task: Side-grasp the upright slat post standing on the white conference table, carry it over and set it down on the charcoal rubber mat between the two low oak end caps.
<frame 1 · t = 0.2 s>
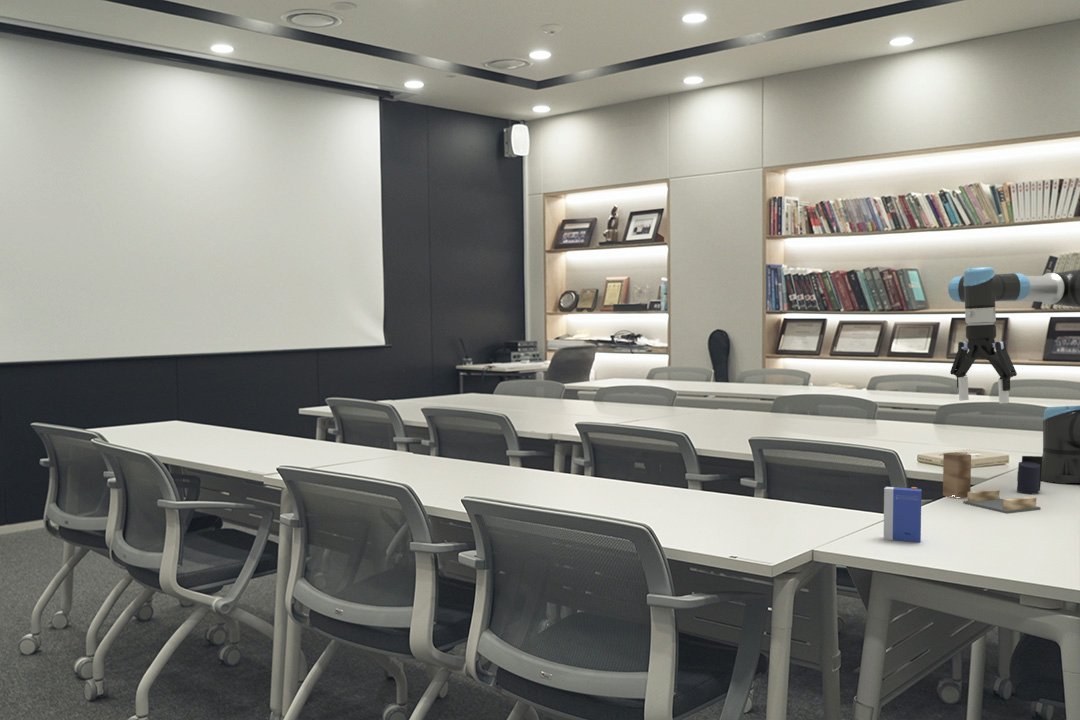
hand: (983, 401, 252), 27 cm above the table, tool pointing down, fingers open, 13 cm apart
slat post: (956, 496, 260), on the table
speaker: (1030, 493, 265), on the table
end caps: (1001, 499, 246), on the mat, point 1 cm above the table
walkman: (902, 540, 210), on the table
mat: (1001, 506, 246), on the table
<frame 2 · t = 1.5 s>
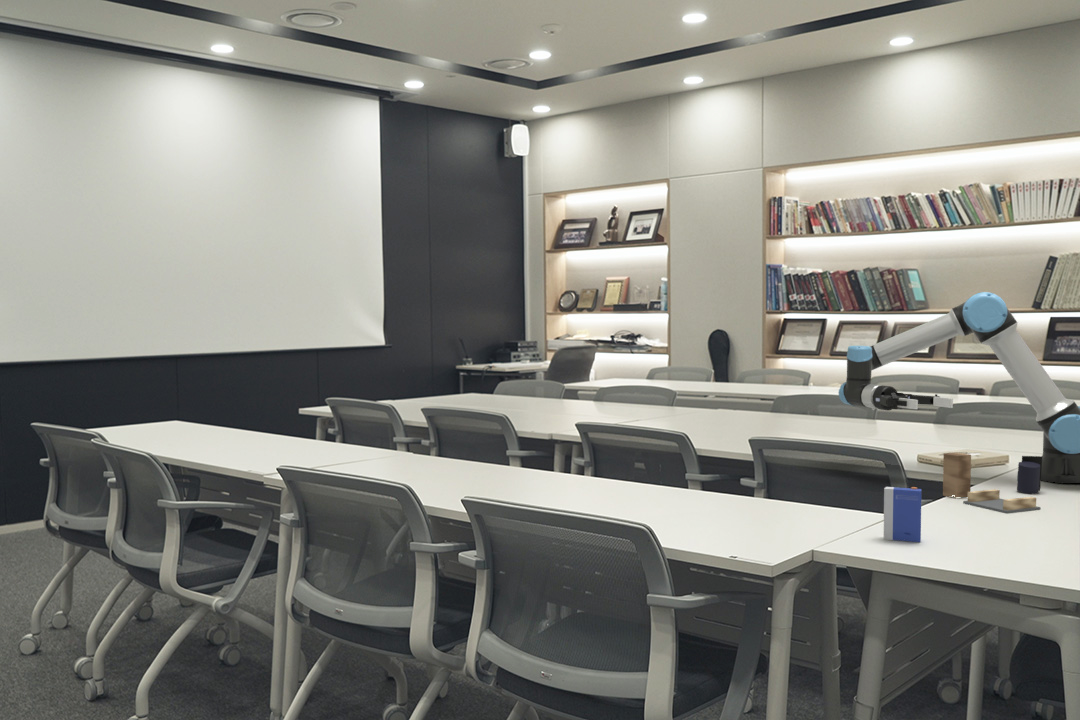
hand: (934, 404, 266), 25 cm above the table, tool horizontal, fingers open, 13 cm apart
nothing on the table moved.
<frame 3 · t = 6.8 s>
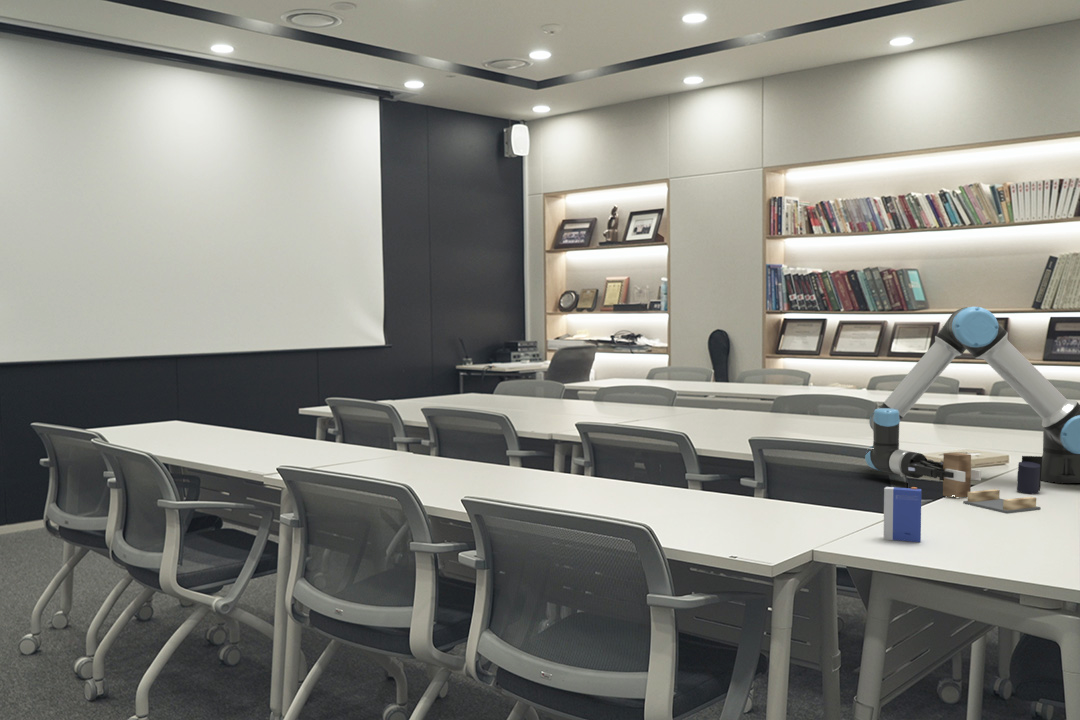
hand: (972, 476, 255), 7 cm above the table, tool horizontal, fingers closed on slat post, 5 cm apart
slat post: (956, 496, 260), on the table, touching gripper
everything else where it was.
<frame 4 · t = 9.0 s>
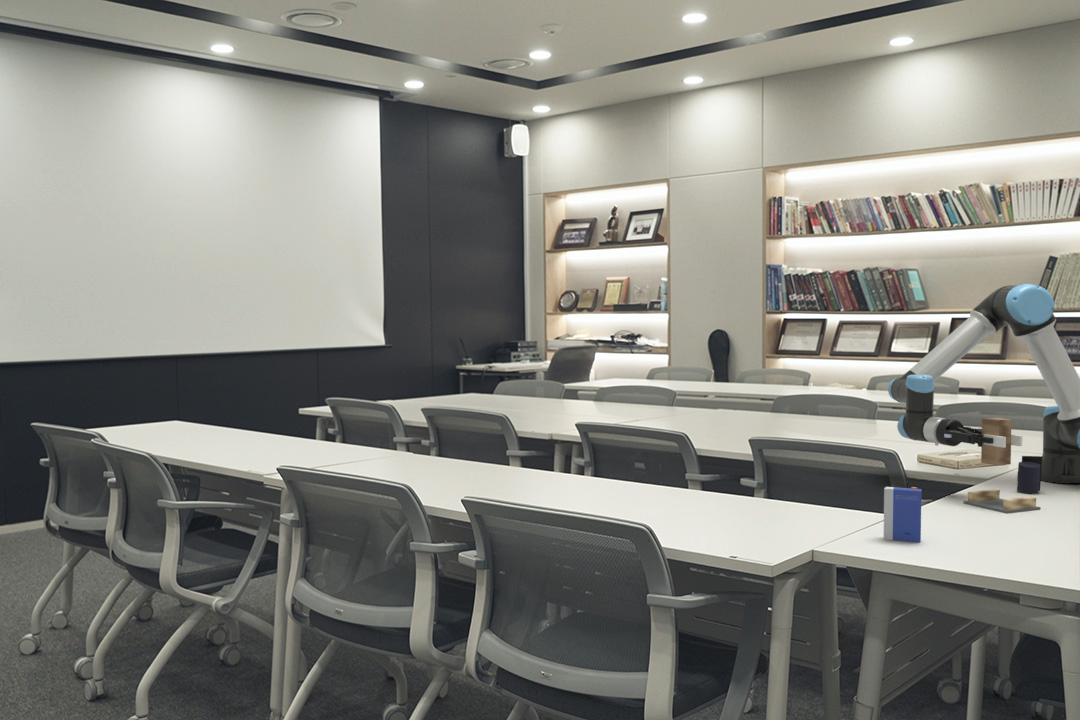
hand: (1012, 441, 241), 18 cm above the table, tool horizontal, fingers closed on slat post, 5 cm apart
slat post: (995, 463, 246), point 11 cm above the table, touching gripper
everything else where it was.
when the fingers open (9 cm above the table, at t = 11.2 s): slat post drops 1 cm, resting on mat.
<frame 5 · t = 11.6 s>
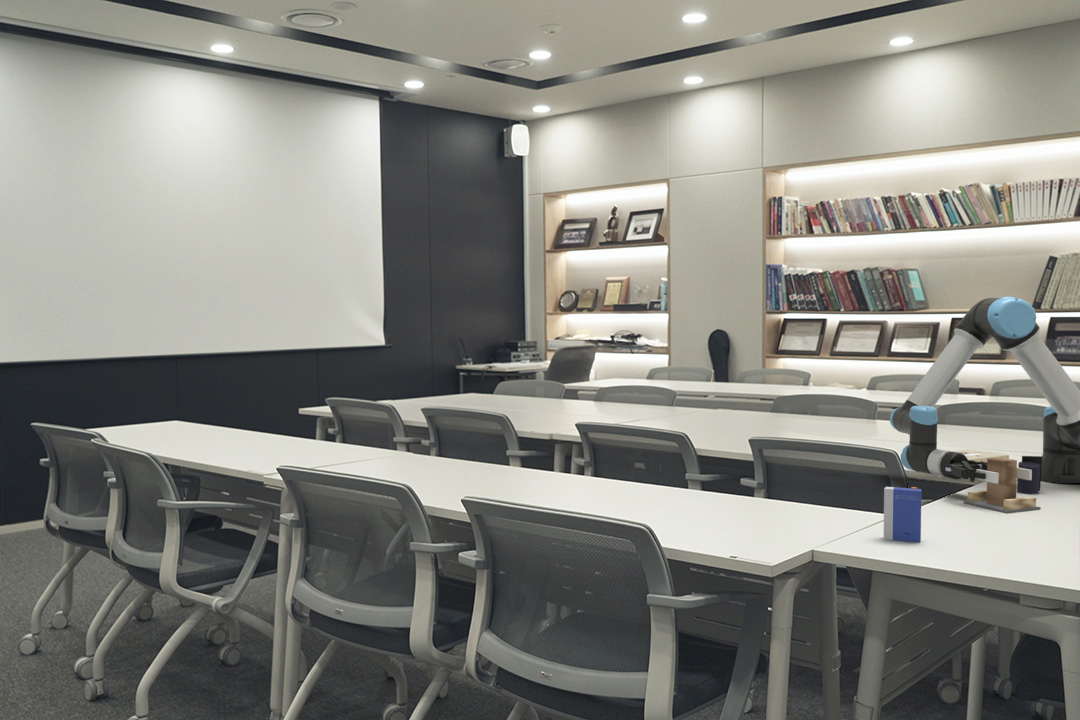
hand: (1014, 476, 242), 9 cm above the table, tool horizontal, fingers open, 11 cm apart
slat post: (1001, 504, 246), point 1 cm above the table, touching mat
everything else where it was.
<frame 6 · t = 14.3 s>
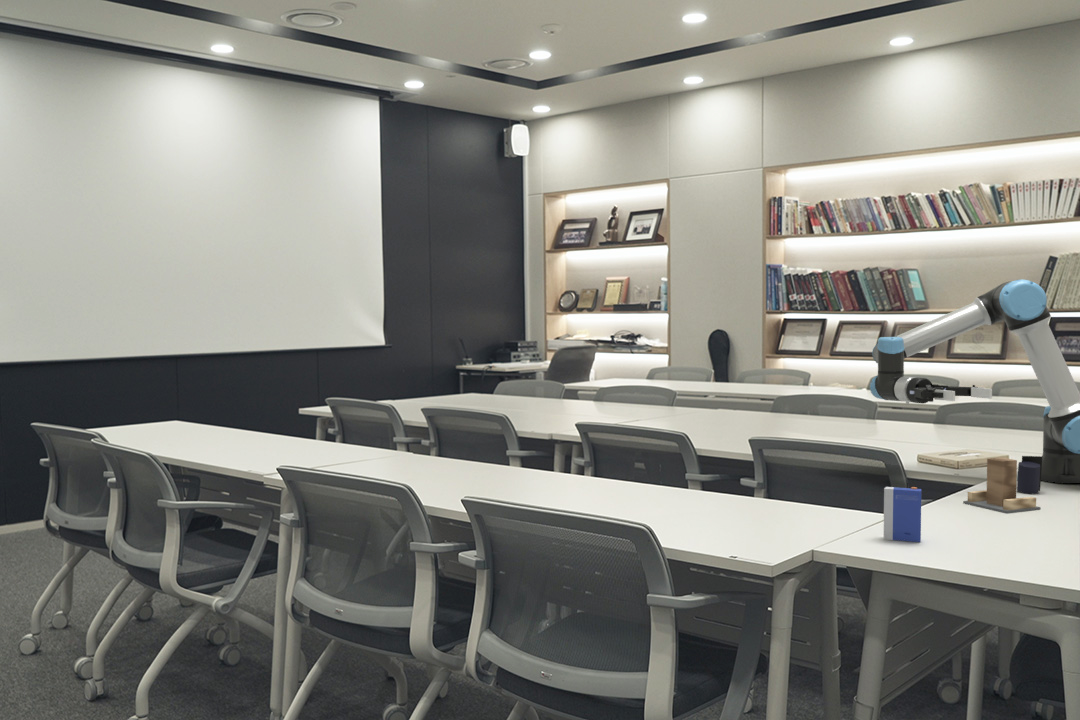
hand: (972, 394, 253), 29 cm above the table, tool horizontal, fingers open, 13 cm apart
nothing on the table moved.
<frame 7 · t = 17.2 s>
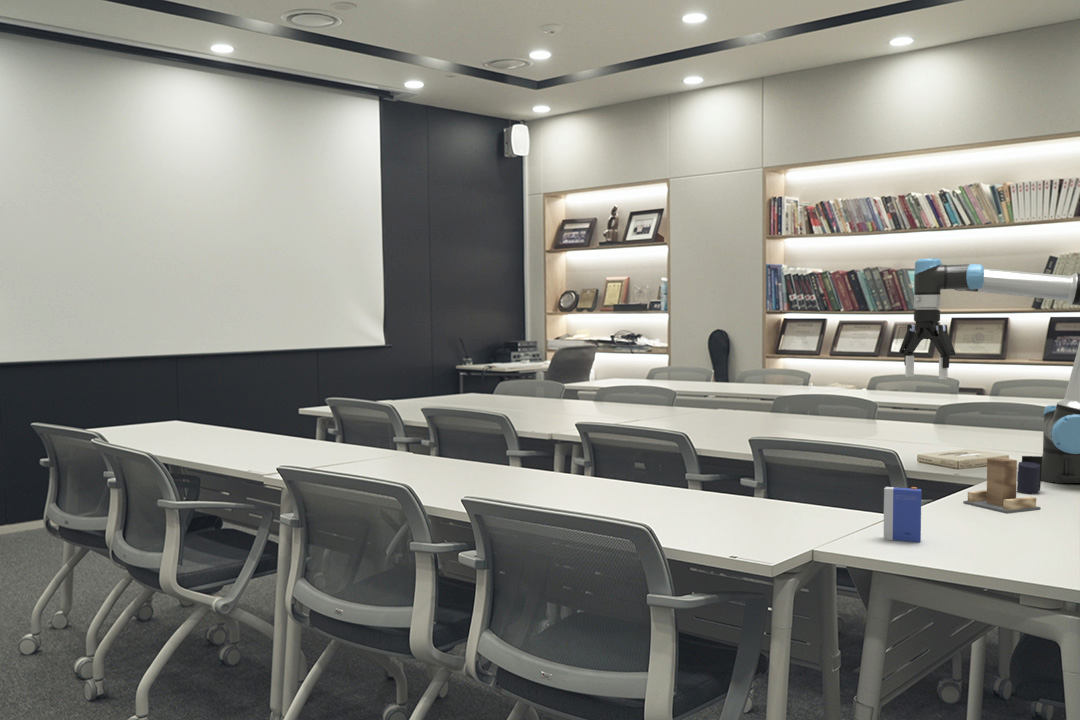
hand: (926, 377, 285), 32 cm above the table, tool pointing down, fingers open, 13 cm apart
nothing on the table moved.
at the end: slat post inside the target area on the mat (0.0 cm from its centre), point 0.6 cm above the mat's base; slat post tilted 0°; the gripper is holding nothing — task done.
